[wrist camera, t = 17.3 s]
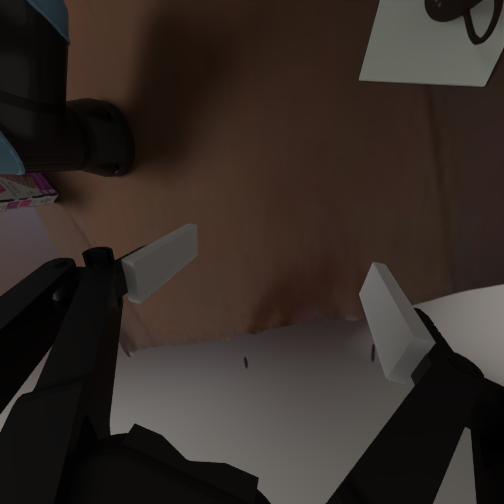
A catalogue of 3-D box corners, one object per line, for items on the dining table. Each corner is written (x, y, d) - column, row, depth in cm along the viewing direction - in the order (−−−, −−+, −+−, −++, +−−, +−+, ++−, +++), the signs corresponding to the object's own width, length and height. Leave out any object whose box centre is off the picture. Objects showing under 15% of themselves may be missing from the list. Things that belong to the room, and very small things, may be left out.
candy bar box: (61, 193, 57) (-24, 205, 43) (54, 203, 60) (-29, 217, 45) (30, 157, 55) (-71, 157, 41) (24, 169, 58) (-73, 172, 43)
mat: (358, 80, 31) (358, 79, 31) (404, -91, 24) (405, -95, 24) (482, 86, 28) (484, 85, 28) (577, -109, 21) (581, -113, 21)
